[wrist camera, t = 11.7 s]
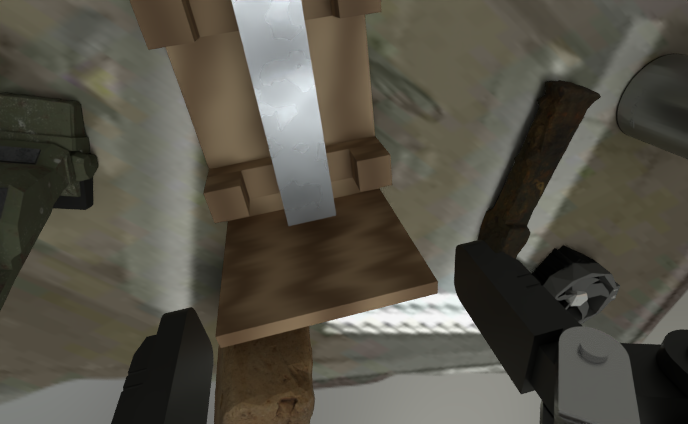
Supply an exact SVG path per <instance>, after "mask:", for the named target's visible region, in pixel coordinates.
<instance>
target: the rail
mask: <svg viewBox="0 0 688 424" xmlns="http://www.w3.org/2000/svg"><path fill="white" fill-rule="evenodd" d="M232 4H233V8H234V12H235V16H236V20H237V24H238V28H239V32H240V36H241V40H242V44H243V48H244V52H245V56H246V60H247V64H248V68H249V72H250V76H251V80H252V83H253V87H254V91H255V95H256V99H257V103H258V107H259V111H260V115H261V119H262V123H263V127H264V131H265V135H266V139H267V143H268V147H269V151H270V155H271V159H272V163H273V167H274V171H275V175H276V179H277V183H278V187H279V190H280V194H281V198H282V202H283V206H284V210H285V214H286V218H287V222H288V226H292V225H296V224H301V223H305V222H310V221H314V220H319V219H323V218H328V217H332V216H336V210H335V204H334V198H333V192H332V186H331V180H330V174H329V167H328V161H327V155H326V149H325V143H324V137H323V131H322V125H321V118H320V112H319V106H318V100H317V94H316V88H315V82H314V76H313V70H312V63H311V57H310V51H309V45H308V39H307V33H306V27H305V21H304V14H303V8H302V2H301V0H232Z"/></svg>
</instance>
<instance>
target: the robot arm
mask: <svg viewBox="0 0 688 424" xmlns="http://www.w3.org/2000/svg"><path fill="white" fill-rule="evenodd" d="M617 121H618V124H619V127H620V129H621V130H622V132H624V133H625V134H626V135H628V136H631V137H633V138H636V139H638V140H641V141H643V142H646V143H648V144H651V145H653V146H656V147H658V148H661V149H663V150H666V151H668V152H671V153H673V154H676V155H678V156H681V157H683V158H686V159H688V56H687V55H680V54H670V55H665V56H663V57H660V58H658V59H656V60H654V61H653V62H651V63H649V64H648V65H647V66H646V67H644V68H643V69H642V70H641V71H640V72H639V73H638V74H637V75H636V76H635V77H634V78H633V80H632V81H631V82H630V84H629V85H628V87H627V88H626V90H625V92H624V94H623V96H622V98H621V101H620V103H619V107H618V112H617ZM454 285H455V290H456V293H457V296H458V298H459V300H460V302H461V303H462V305H463V306H464V308H465V309H466V311H467V312H468V314H469V315H470V317H471V318H472V320H473V322H474V323H475V325H476V326H477V328H478V329H479V331H480V332H481V334H482V335H483V337H484V338H485V340H486V341H487V343H488V344H489V346H490V348H491V349H492V351H493V352H494V354H495V355H496V357H497V358H498V360H499V361H500V363H501V364H502V366H503V367H504V369H505V371H506V372H507V374H508V375H509V376H510V378H511V380H512V381H513V383H514V384H515V386H516V387H517V389H518V390H519V392H520V393H521V394H524V393H527V392H531V391H534V390H535V391H536V392H537V394H538V395H539V396H540V398H541V399H542V401H541V406H540V424H688V330H675V331H672V332H670V333H668V334H667V335H666V336H665V339H664V340H663V342H662V344H661V345H654V344H627V343H619V342H618V341H617V340H616V339H614V338H613V337H611V336H610V335H608V334H606V333H604V332H602V331H600V330H597V329H594V328H590V327H583V326H582V325H581V324H580V323H579V322H578V321H577V320H576V319H575V318H574V317H573V316H572V315H571V314H570V313H569V312H568V311H567V310H566V309H565V308H564V307H563V306H562V305H561V304H560V303H559V302H558V301H557V300H556V299H555V298H554V297H553V296H552V294H551V293H550V292H549V291H548V290H547V289H546V288H545V287H544V286H541V284H540V282H539V281H538V280H537V279H536V278H535V277H534V276H533V275H531V273H530V272H529V271H528V270H527V269H526V268H525V266H524V265H523V264H522V263H521V262H520V261H518V260H517V259H515V258H513V257H511V256H509V255H507V254H506V253H504V252H500V253H495V252H494V251H493V250H492V249H491V248H490V247H489V246H488V244H487V243H486V242H485V241H483V240H477V241H473V242H469V243H465V244H460V245H458V246H457V247H456V253H455V274H454ZM212 370H213V350H212V345H211V342H210V340H209V338H208V336H207V334H206V332H205V329H204V327H203V325H202V323H201V321H200V319H199V317H198V315H197V313H196V311H195V310H194V309H193V308H192V307H190V308H186V309H182V310H178V311H173V312H169V313H165V314H164V315H163V316H162V318H161V321H160V325H159V328H158V332H157V335H153V336H149V337H146V339H145V340H144V342H143V343H142V344H141V346H140V347H139V348H138V350H137V351H136V352H135V354H134V356H133V359H132V362H131V365H130V368H129V371H128V376H127V377H126V380H125V383H124V386H123V392H121V395H120V398H119V401H118V404H117V407H116V410H115V413H114V417H113V420H112V423H111V424H206V423H207V414H208V406H209V396H210V388H211V379H212Z"/></svg>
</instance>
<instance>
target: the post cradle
mask: <svg viewBox="0 0 688 424" xmlns="http://www.w3.org/2000/svg"><path fill="white" fill-rule="evenodd" d="M301 2H302V8H303V14H304V21H305V27H306V33H307V39H308V45H309V51H310V57H311V63H312V70H313V76H314V82H315V88H316V94H317V100H318V106H319V112H320V118H321V125H322V131H323V137H324V143H325V149H326V155H327V161H328V167H329V174H330V180H331V186H332V192H333V198H334V204H335V210H336V216H332V217H328V218H323V219H319V220H314V221H310V222H305V223H301V224H296V225H292V226H288V222H287V218H286V214H285V210H284V206H283V202H282V198H281V194H280V190H279V187H278V183H277V179H276V175H275V171H274V167H273V163H272V159H271V155H270V151H269V147H268V143H267V139H266V135H265V131H264V127H263V123H262V119H261V115H260V111H259V107H258V103H257V99H256V95H255V91H254V87H253V83H252V80H251V76H250V72H249V68H248V64H247V60H246V56H245V52H244V48H243V44H242V40H241V36H240V32H239V28H238V24H237V20H236V16H235V12H234V8H233V4H232V0H130V3H131V5H132V8H133V11H134V13H135V16H136V19H137V21H138V24H139V26H140V29H141V32H142V34H143V37H144V39H145V42H146V45H147V47H148V50H150V49H156V48H162V47H166V50H167V53H168V56H169V58H170V61H171V64H172V67H173V70H174V72H175V75H176V78H177V81H178V84H179V86H180V89H181V92H182V95H183V98H184V100H185V103H186V106H187V109H188V111H189V114H190V117H191V120H192V123H193V125H194V128H195V131H196V134H197V137H198V139H199V142H200V145H201V148H202V151H203V153H204V156H205V159H206V162H207V165H208V167H209V172H208V176H207V180H206V185H205V189H204V193H203V194H204V196H205V199H206V202H207V204H208V207H209V209H210V212H211V215H212V217H213V220H214V222H215V223H219V222H223V221H228V225H227V234H226V243H225V253H224V262H223V271H222V281H221V290H220V299H219V309H218V318H217V328H216V339H217V341H218V343H219V345H220V347H221V348H223V347H227V346H231V345H235V344H239V343H243V342H247V341H251V340H255V339H259V338H263V337H267V336H271V335H275V334H279V333H283V332H287V331H291V330H295V329H298V328H302V327H306V326H310V325H314V324H318V323H322V322H326V321H330V320H334V319H338V318H342V317H346V316H350V315H354V314H358V313H362V312H366V311H370V310H374V309H378V308H381V307H385V306H389V305H393V304H397V303H401V302H405V301H409V300H413V299H417V298H421V297H425V296H429V295H433V294H437V292H438V281H437V280H436V278H435V276H434V275H433V273H432V272H431V270H430V268H429V267H428V265H427V264H426V262H425V260H424V259H423V257H422V256H421V254H420V253H419V251H418V249H417V248H416V246H415V245H414V243H413V241H412V240H411V238H410V237H409V235H408V233H407V232H406V230H405V229H404V227H403V225H402V224H401V222H400V221H399V219H398V217H397V216H396V214H395V213H394V211H393V209H392V208H391V206H390V205H389V203H388V201H387V200H386V198H385V197H384V195H383V193H382V192H381V190H380V189H379V188H380V187H385V186H390V185H392V174H391V158H390V154H389V153H388V151H387V150H386V149H385V148H384V146H383V145H382V144H381V143H380V142H379V140H378V139H377V138H376V137H375V130H374V118H373V106H372V94H371V82H370V70H369V59H368V47H367V35H366V23H365V14H371V13H377V12H381V0H301Z"/></svg>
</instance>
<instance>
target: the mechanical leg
mask: <svg viewBox="0 0 688 424" xmlns="http://www.w3.org/2000/svg"><path fill="white" fill-rule="evenodd" d="M89 151H90V145H89V138H88V137H86V136H85V129H84V123H83V117H82V111H81V105H80V103H79V102H78V101H65V100H61V99H53V98H44V97H36V96H28V95H14V94H11V93H0V310H1V308H2V306H3V305H4V302H5V300H6V298H7V296H8V294H9V292H10V289H11V287H12V285H13V283H14V281H15V279H16V277H17V275H18V273H19V271H20V270H21V268H22V266H23V264H24V262H25V260H26V259H27V257H28V255H29V253H30V251H31V249H32V247H33V245H34V244H35V242H36V240H37V238H38V236H39V234H40V232H41V231H42V229H43V227H44V225H45V223H46V222H47V220H48V218H49V216H50V214H51V212H52V209H53V208H60V209H80V210H86V209H88V208H90V207H91V206H92V205H93V175H94V173H95V172H96V170H97V168H98V163H97V158H96V156H93V155H91V154H88V153H89Z"/></svg>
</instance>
